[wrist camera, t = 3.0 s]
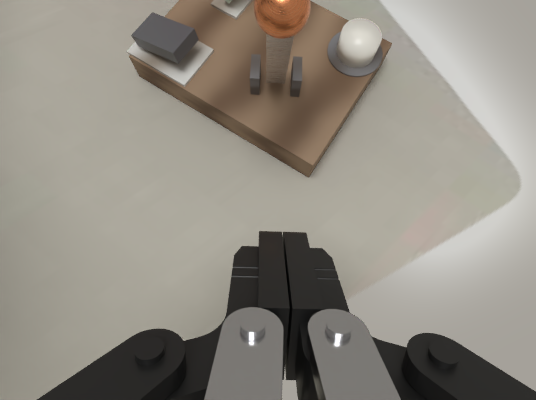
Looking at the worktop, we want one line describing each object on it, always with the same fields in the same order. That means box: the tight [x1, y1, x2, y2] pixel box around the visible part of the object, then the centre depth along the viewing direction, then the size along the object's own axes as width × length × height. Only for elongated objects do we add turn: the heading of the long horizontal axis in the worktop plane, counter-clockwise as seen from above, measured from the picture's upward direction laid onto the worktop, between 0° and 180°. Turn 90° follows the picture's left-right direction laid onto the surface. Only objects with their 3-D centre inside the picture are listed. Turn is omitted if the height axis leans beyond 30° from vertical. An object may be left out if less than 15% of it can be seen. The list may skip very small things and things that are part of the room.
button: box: [336, 18, 382, 68], centre depth 32 cm, size 4×4×2 cm
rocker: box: [131, 13, 199, 64], centre depth 31 cm, size 5×3×1 cm, turn 58°
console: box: [127, 0, 392, 177], centre depth 33 cm, size 20×15×5 cm
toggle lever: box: [254, 0, 311, 84], centre depth 24 cm, size 3×3×14 cm
